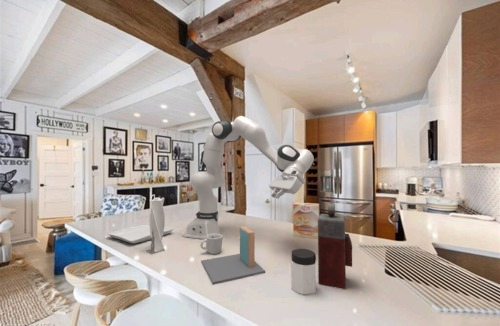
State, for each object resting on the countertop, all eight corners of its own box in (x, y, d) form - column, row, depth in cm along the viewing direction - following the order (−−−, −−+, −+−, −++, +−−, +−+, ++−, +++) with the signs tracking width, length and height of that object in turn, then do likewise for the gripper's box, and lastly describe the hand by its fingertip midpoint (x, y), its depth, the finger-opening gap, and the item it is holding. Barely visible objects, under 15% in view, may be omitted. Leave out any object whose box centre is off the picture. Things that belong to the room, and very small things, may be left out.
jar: (296, 296, 70) (296, 258, 70) (286, 283, 78) (286, 249, 78) (321, 292, 72) (321, 256, 72) (309, 280, 80) (309, 247, 80)
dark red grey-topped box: (353, 291, 73) (352, 207, 74) (318, 284, 77) (317, 205, 78) (352, 278, 81) (351, 203, 82) (320, 272, 86) (319, 201, 86)
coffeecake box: (293, 236, 132) (292, 203, 132) (294, 232, 138) (294, 202, 139) (319, 239, 126) (318, 205, 127) (319, 235, 133) (319, 203, 133)
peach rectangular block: (239, 258, 97) (239, 226, 98) (245, 257, 98) (245, 226, 99) (248, 267, 88) (248, 233, 89) (254, 266, 89) (254, 232, 90)
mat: (201, 262, 95) (201, 260, 95) (245, 254, 104) (245, 252, 104) (213, 284, 77) (212, 282, 77) (265, 272, 86) (265, 270, 86)
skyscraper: (144, 250, 110) (145, 194, 111) (160, 246, 116) (160, 193, 116) (151, 255, 104) (152, 196, 105) (167, 250, 110) (168, 194, 111)
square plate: (174, 234, 137) (174, 228, 137) (131, 248, 114) (131, 240, 114) (149, 228, 151) (149, 222, 151) (106, 239, 128) (106, 232, 128)
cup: (203, 257, 100) (203, 240, 100) (198, 251, 107) (198, 235, 107) (225, 253, 105) (225, 236, 105) (219, 248, 112) (219, 232, 112)
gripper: (276, 171, 116) (260, 190, 112) (300, 172, 98) (281, 195, 93) (283, 179, 118) (267, 198, 114) (308, 181, 99) (290, 204, 95)
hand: (274, 197), depth 103 cm, fingers closed
